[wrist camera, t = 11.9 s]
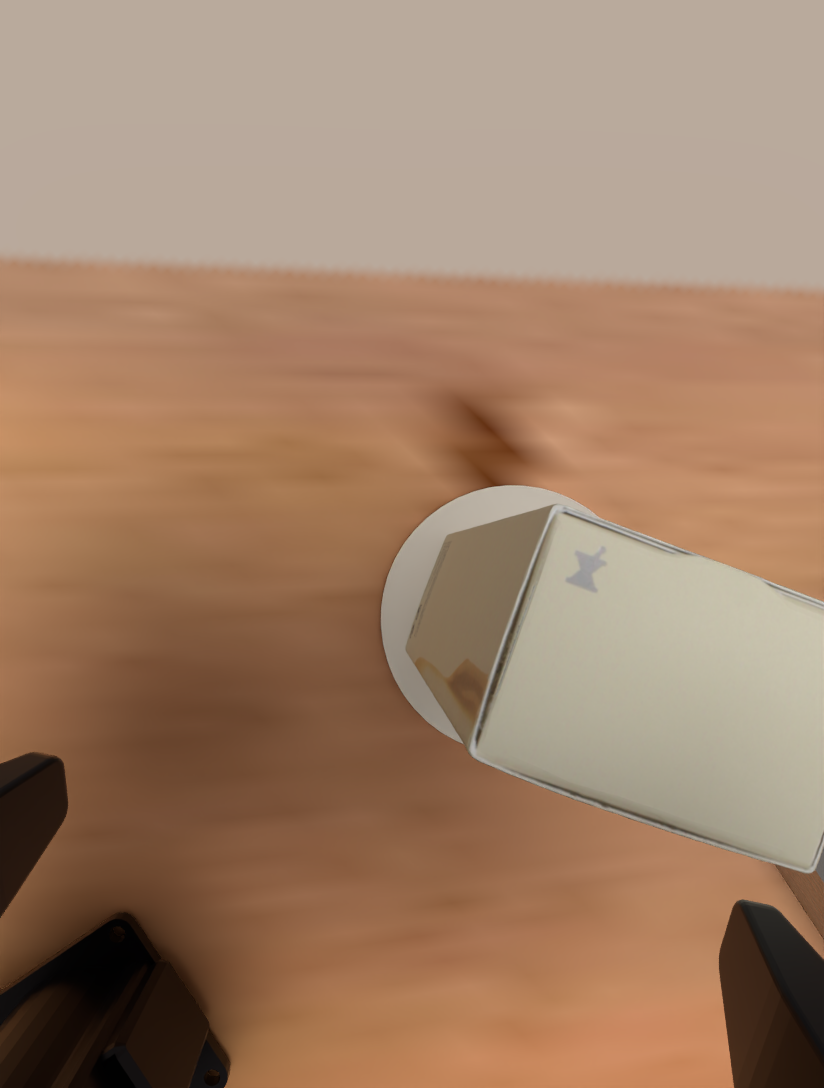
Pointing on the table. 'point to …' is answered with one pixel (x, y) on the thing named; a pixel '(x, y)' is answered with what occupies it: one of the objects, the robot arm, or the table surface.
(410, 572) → the coaster
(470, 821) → the table surface
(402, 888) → the table surface
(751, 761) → the skincare box
